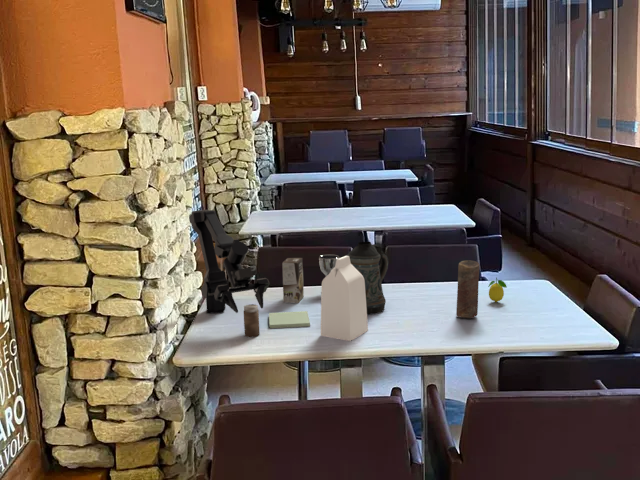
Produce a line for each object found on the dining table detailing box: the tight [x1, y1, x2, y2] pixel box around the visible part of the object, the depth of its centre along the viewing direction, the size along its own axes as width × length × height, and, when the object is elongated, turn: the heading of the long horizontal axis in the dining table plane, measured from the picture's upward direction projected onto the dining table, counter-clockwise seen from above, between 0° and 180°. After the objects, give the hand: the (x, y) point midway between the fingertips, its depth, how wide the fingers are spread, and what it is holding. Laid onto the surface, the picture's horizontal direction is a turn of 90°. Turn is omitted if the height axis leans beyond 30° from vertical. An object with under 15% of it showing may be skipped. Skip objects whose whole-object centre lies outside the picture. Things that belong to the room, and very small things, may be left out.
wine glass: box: [318, 254, 340, 277], centre depth 288 cm, size 8×8×15 cm
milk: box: [320, 255, 369, 342], centre depth 237 cm, size 12×12×26 cm
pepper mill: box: [243, 303, 261, 338], centre depth 240 cm, size 5×5×10 cm
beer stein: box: [346, 241, 389, 316], centre depth 266 cm, size 16×19×25 cm
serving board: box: [268, 310, 311, 329], centre depth 254 cm, size 14×14×1 cm
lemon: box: [488, 277, 508, 303], centre depth 269 cm, size 7×6×10 cm
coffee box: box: [281, 257, 305, 304], centre depth 279 cm, size 9×6×16 cm
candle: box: [455, 259, 480, 320], centre depth 251 cm, size 8×7×20 cm
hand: (250, 309), depth 240 cm, fingers open, 9 cm apart
